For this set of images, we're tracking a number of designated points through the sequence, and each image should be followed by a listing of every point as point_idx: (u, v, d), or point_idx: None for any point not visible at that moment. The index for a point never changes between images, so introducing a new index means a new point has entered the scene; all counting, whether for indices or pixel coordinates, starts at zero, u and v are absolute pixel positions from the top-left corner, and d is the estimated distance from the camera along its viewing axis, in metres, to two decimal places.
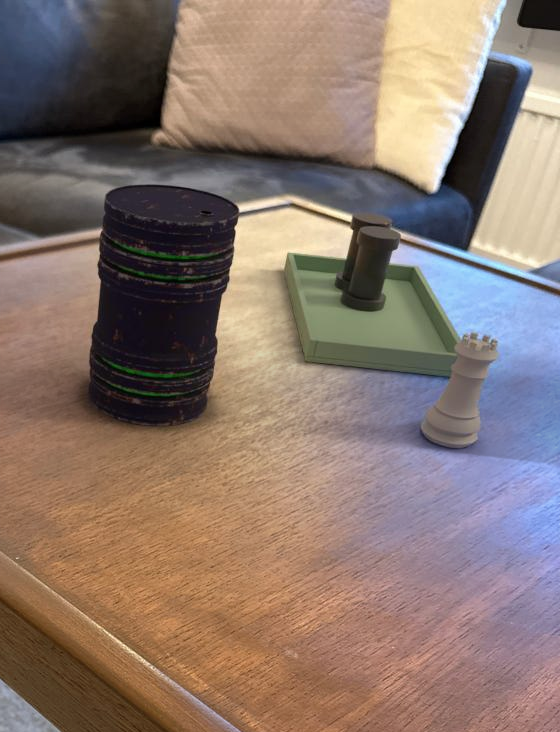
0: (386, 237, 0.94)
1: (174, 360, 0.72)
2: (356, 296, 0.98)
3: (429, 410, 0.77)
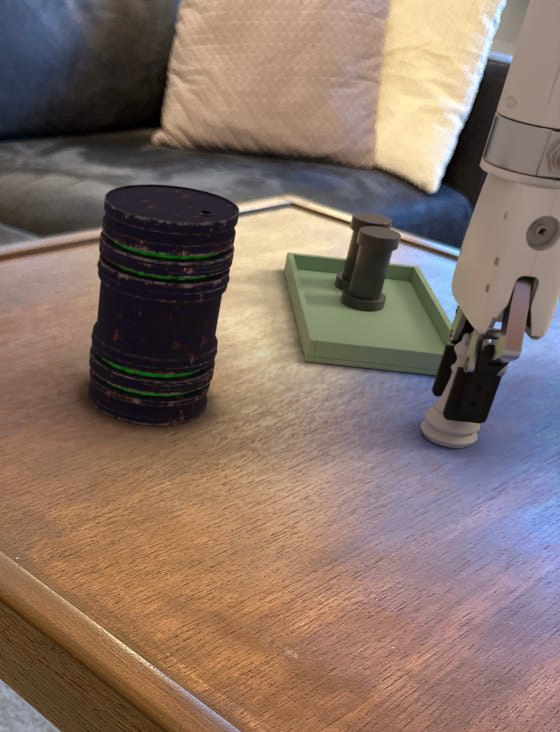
0: (386, 237, 0.94)
1: (174, 360, 0.72)
2: (356, 296, 0.98)
3: (429, 410, 0.77)
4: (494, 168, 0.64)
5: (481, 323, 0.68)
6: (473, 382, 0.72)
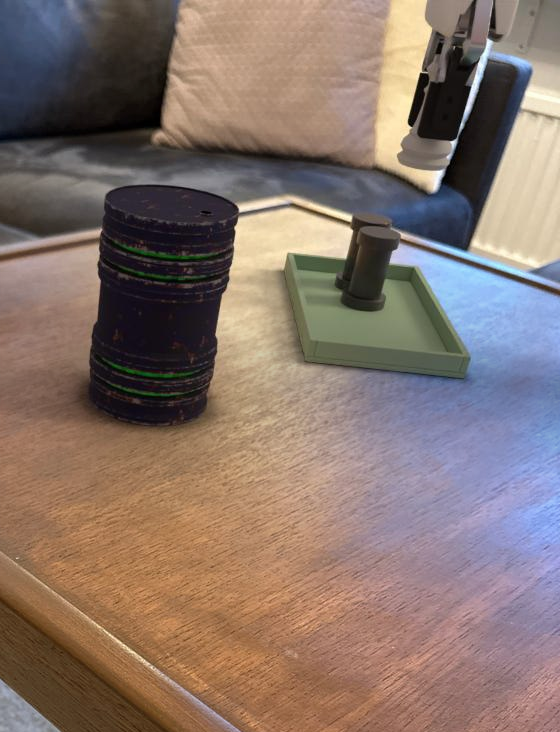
0: (386, 237, 0.94)
1: (174, 360, 0.72)
2: (356, 296, 0.98)
3: (404, 137, 0.83)
4: None
5: (450, 23, 0.73)
6: (444, 93, 0.77)
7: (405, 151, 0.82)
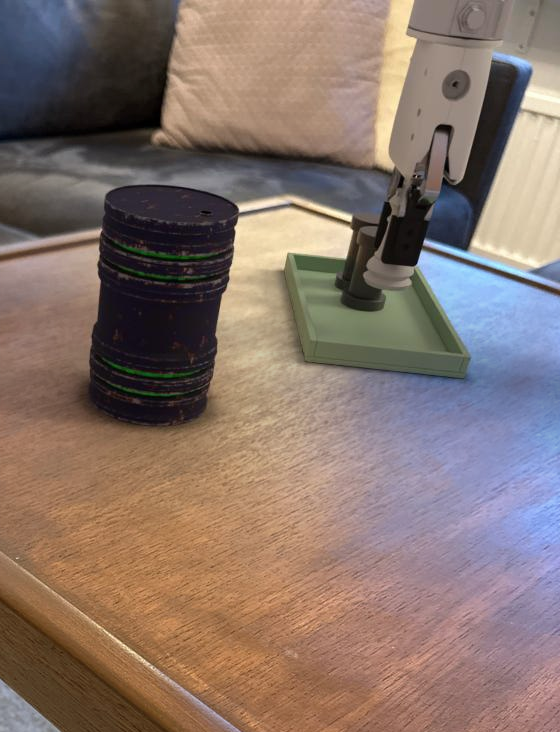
0: None
1: (174, 360, 0.72)
2: (356, 296, 0.98)
3: (370, 259, 0.89)
4: (416, 32, 0.77)
5: (408, 169, 0.80)
6: (404, 226, 0.84)
7: (370, 272, 0.89)
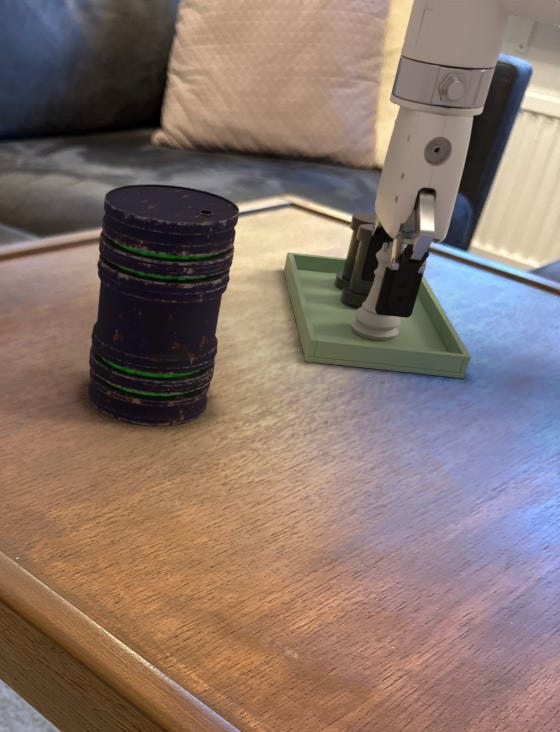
0: None
1: (174, 360, 0.72)
2: (357, 292, 0.98)
3: (358, 310, 0.92)
4: (399, 100, 0.80)
5: (392, 229, 0.83)
6: (398, 279, 0.85)
7: (358, 322, 0.92)
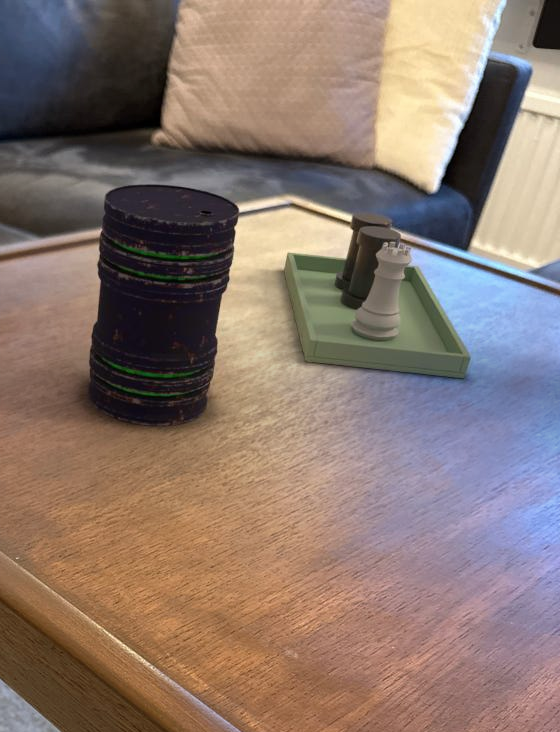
0: (386, 237, 0.94)
1: (174, 360, 0.72)
2: (356, 296, 0.98)
3: (358, 310, 0.92)
4: None
5: None
6: None
7: (358, 322, 0.92)
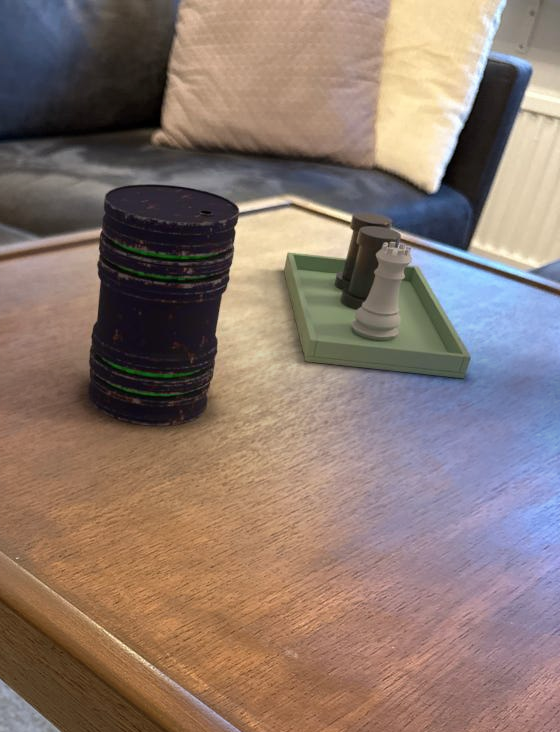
0: (386, 237, 0.94)
1: (174, 360, 0.72)
2: (356, 296, 0.98)
3: (358, 310, 0.92)
4: None
5: None
6: None
7: (358, 322, 0.92)
